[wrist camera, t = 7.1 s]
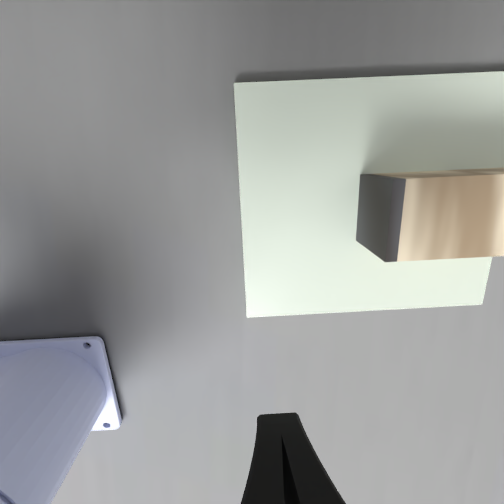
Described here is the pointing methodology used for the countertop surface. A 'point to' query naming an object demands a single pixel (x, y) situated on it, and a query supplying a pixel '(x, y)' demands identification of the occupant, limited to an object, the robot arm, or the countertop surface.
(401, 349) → the countertop surface
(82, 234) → the countertop surface
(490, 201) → the birch block
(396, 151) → the sage board
